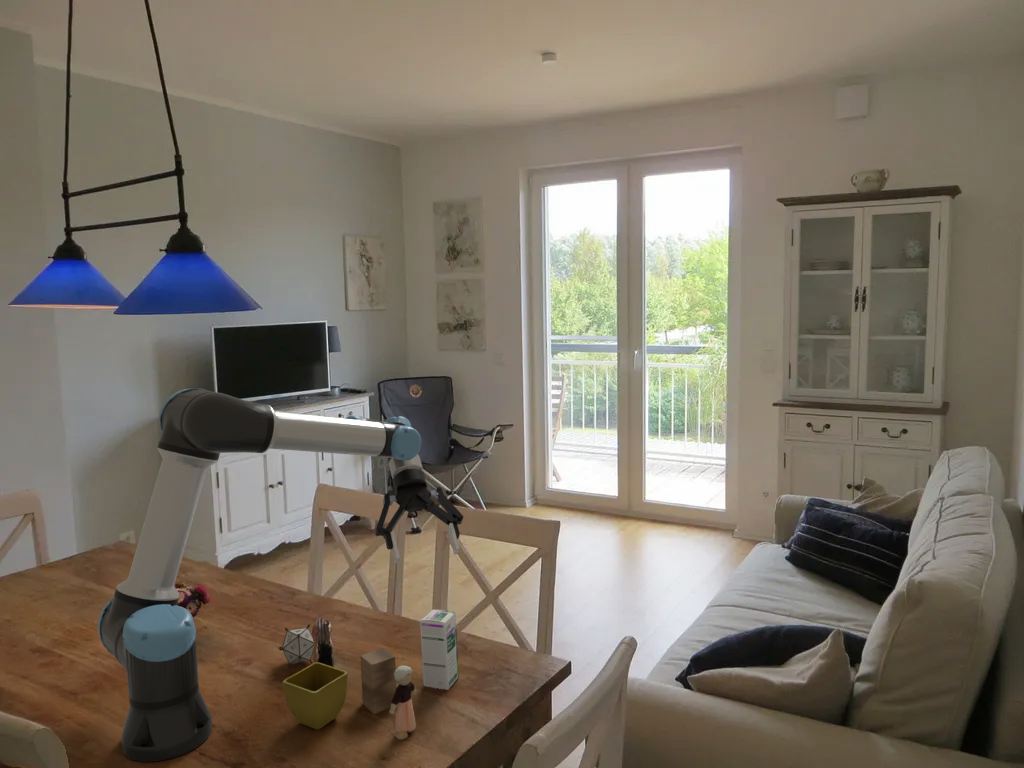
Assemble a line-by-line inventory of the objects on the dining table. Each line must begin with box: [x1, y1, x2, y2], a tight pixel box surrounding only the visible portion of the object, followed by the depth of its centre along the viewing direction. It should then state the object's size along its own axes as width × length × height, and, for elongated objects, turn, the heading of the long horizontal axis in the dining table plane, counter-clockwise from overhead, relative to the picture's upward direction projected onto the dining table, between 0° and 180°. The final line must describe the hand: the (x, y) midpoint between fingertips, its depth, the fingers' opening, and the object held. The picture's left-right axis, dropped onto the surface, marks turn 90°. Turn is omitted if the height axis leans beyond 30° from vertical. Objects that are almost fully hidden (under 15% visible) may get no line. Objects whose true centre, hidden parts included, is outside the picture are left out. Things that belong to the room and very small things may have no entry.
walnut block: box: [359, 647, 397, 715], centre depth 151 cm, size 5×5×10 cm
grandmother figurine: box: [388, 665, 418, 740], centre depth 141 cm, size 8×4×13 cm, turn 164°
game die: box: [278, 623, 315, 668], centre depth 169 cm, size 9×8×10 cm
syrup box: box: [419, 609, 460, 691], centre depth 158 cm, size 6×6×14 cm
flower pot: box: [282, 661, 349, 730], centre depth 145 cm, size 9×9×9 cm
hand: (427, 556), depth 170 cm, fingers open, 13 cm apart
